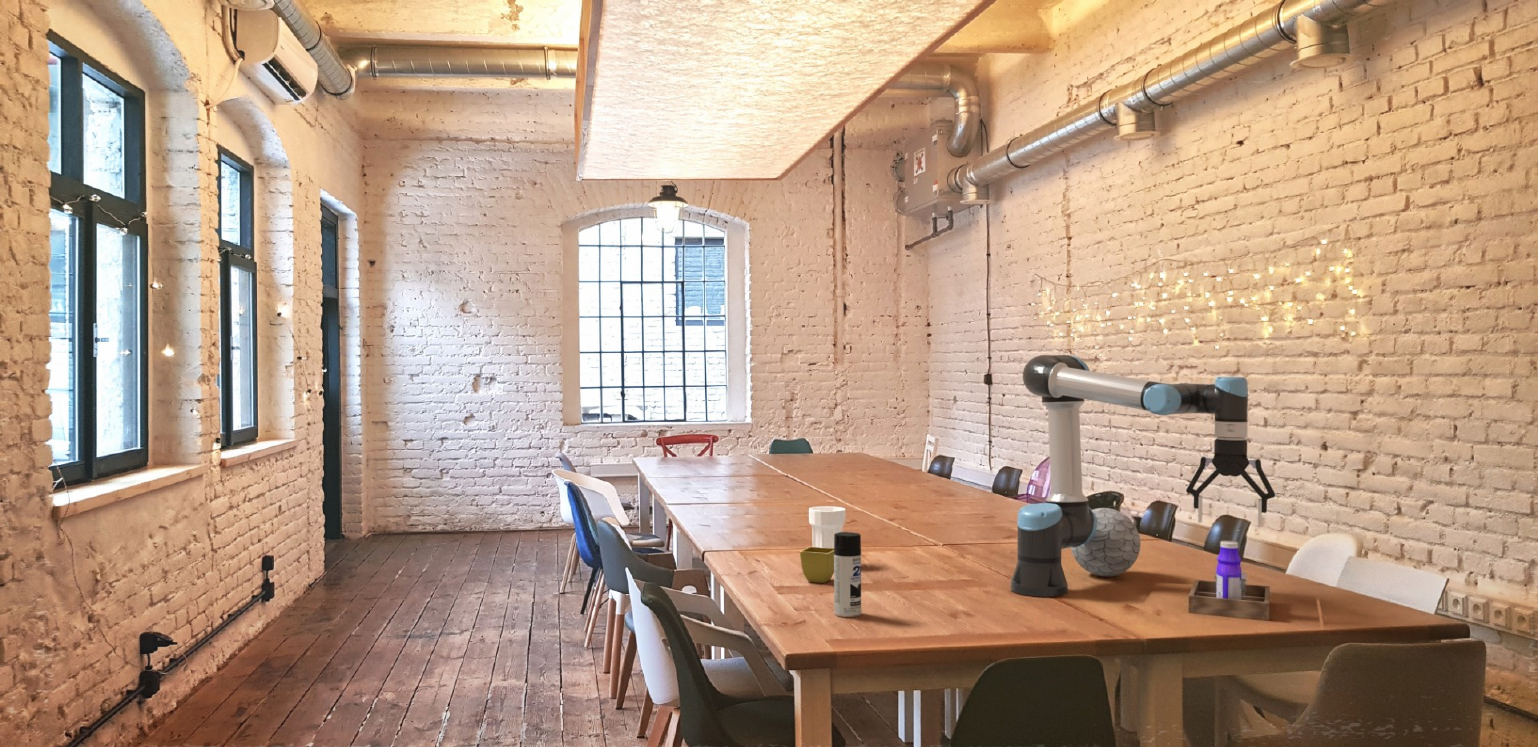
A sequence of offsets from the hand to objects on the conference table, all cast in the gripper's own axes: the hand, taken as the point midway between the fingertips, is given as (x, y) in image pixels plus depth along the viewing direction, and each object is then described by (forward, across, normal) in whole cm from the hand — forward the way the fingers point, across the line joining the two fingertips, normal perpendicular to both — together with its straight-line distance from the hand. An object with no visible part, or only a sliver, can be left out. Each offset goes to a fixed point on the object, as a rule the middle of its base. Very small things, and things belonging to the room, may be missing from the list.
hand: (1229, 523), depth 265 cm
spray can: (+23, -85, -43) cm, 98 cm away
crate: (+23, 0, +5) cm, 23 cm away
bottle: (+22, 0, 0) cm, 22 cm away
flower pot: (+23, -107, -9) cm, 110 cm away
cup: (+23, -114, +14) cm, 117 cm away
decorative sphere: (+23, -35, +36) cm, 55 cm away
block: (+22, 0, +10) cm, 24 cm away
